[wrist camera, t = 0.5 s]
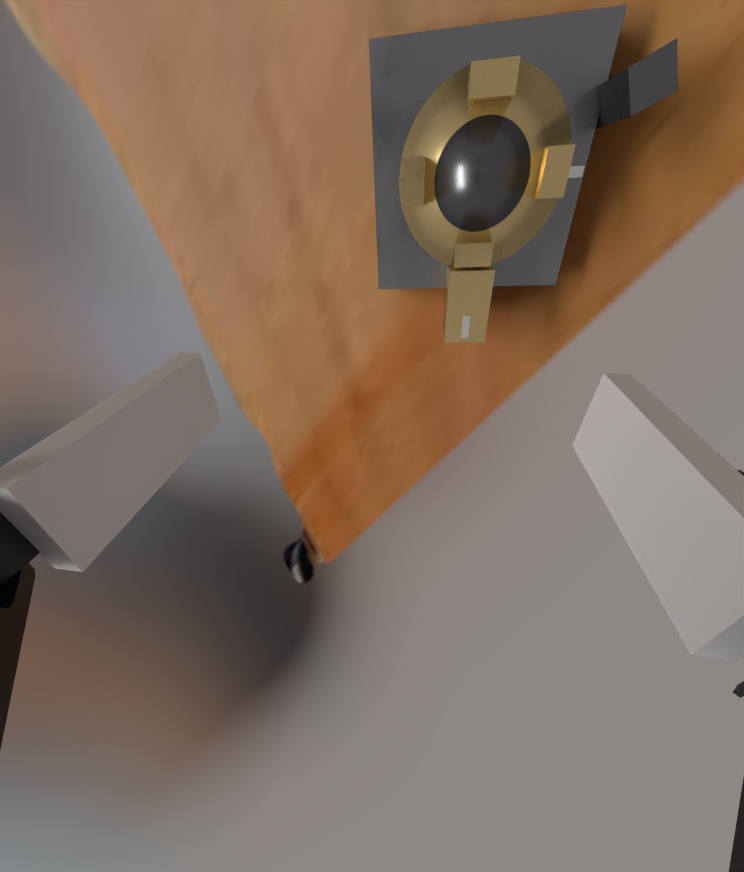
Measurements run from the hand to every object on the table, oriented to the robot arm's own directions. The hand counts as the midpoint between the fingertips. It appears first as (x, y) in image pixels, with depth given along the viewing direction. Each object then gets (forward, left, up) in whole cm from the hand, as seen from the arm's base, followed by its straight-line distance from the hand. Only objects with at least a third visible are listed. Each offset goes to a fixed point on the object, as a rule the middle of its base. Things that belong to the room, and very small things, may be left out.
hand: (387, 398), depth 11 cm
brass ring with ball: (-4, +4, -20) cm, 20 cm away
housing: (-6, +5, -23) cm, 24 cm away
